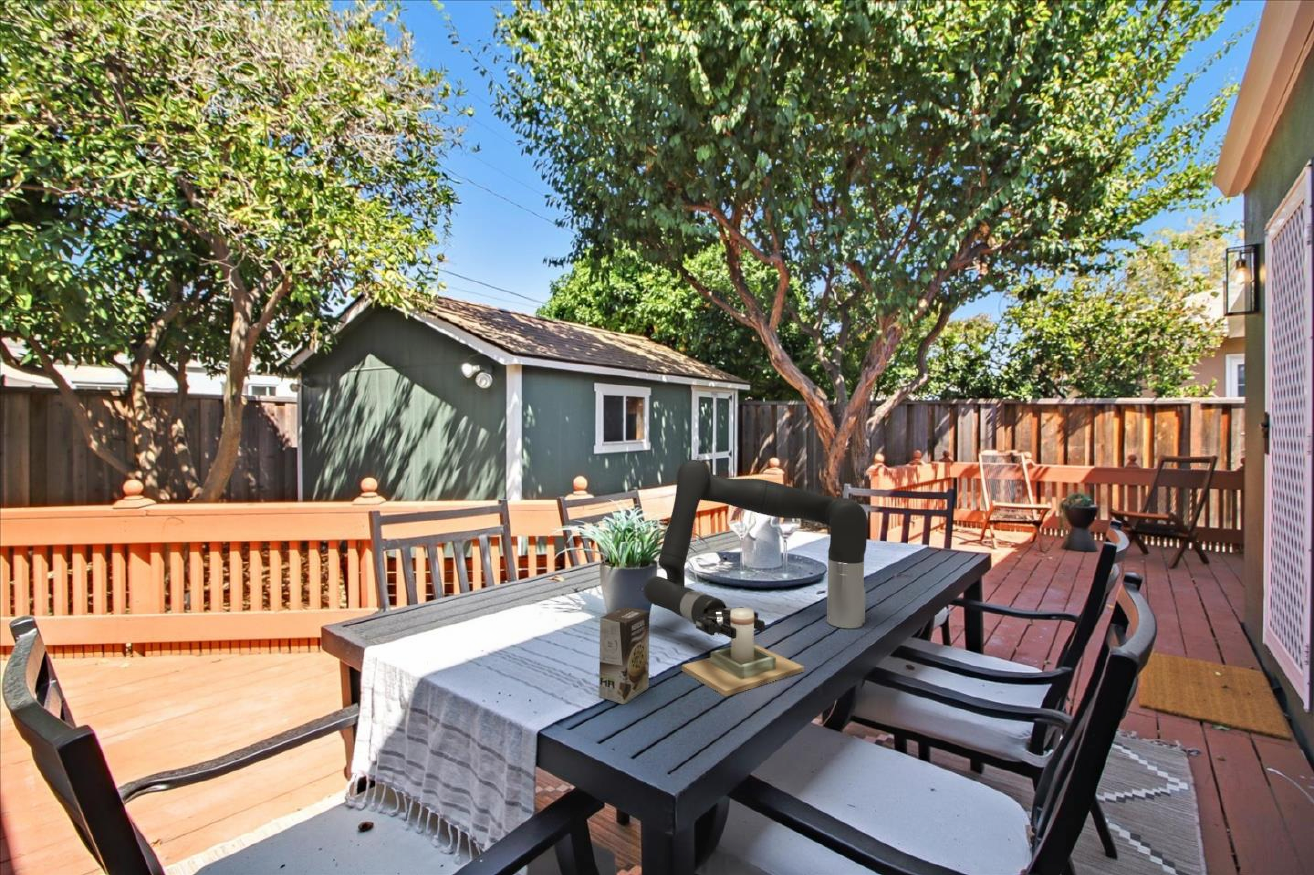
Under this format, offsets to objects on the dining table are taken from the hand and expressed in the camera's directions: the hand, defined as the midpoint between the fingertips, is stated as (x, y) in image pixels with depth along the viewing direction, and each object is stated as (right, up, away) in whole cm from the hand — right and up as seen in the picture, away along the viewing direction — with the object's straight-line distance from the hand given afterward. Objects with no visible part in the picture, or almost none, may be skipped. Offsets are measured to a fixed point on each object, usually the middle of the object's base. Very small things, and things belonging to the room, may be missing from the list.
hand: (749, 630), depth 137 cm
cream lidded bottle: (-1, -8, +2) cm, 9 cm away
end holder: (-1, -10, +2) cm, 10 cm away
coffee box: (-26, -10, -9) cm, 30 cm away
